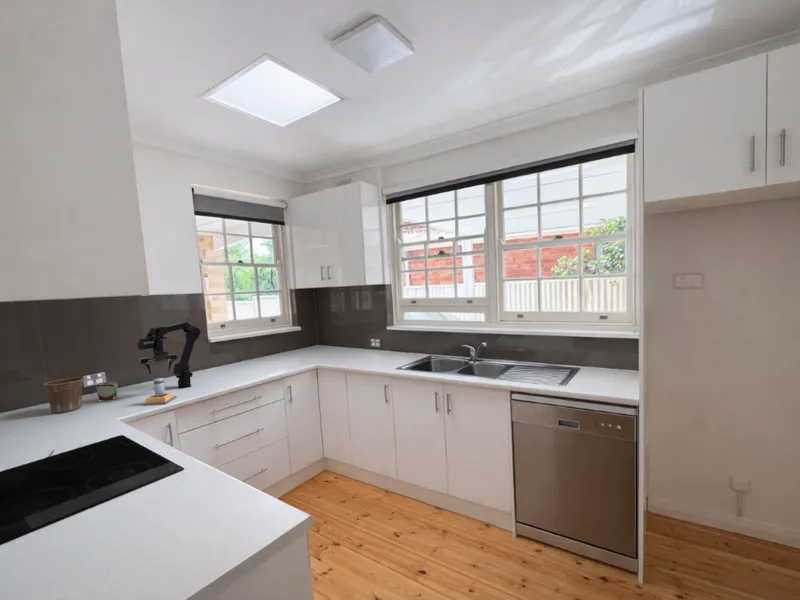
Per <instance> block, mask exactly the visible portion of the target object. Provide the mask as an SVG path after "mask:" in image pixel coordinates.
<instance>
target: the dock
mask: <svg viewBox="0 0 800 600" xmlns="http://www.w3.org/2000/svg"><path fill="white" fill-rule="evenodd" d="M176 398H178V397H177V395H174V392H165V396H164V397H155V393H154V394H152V395H150V396H148V397H147V398H145V402H144V403H142V406H143V407H147V406H146V405H149V406H161V405H167V404H169V403H171V402H172V401H174V400H175V399H176Z"/></svg>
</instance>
